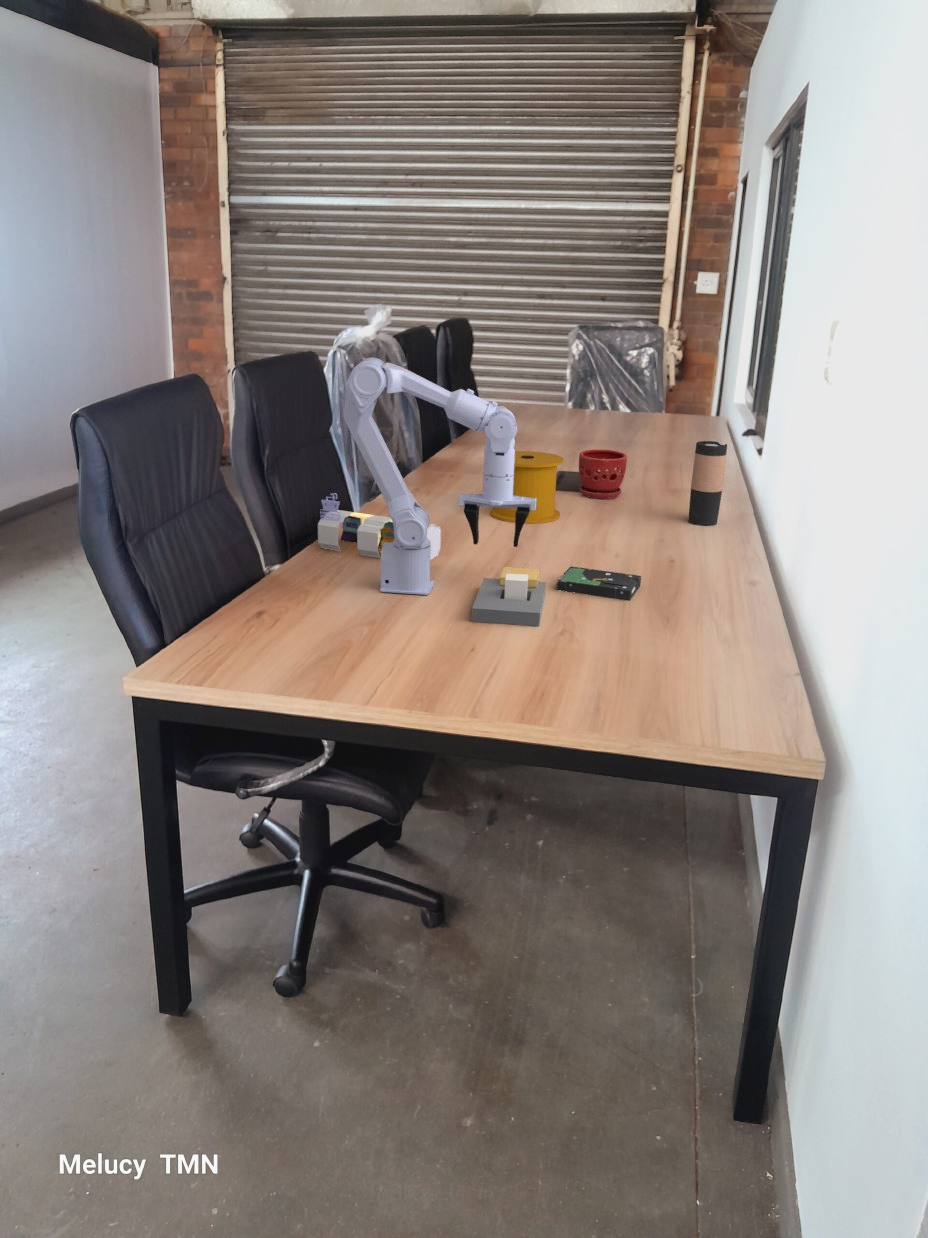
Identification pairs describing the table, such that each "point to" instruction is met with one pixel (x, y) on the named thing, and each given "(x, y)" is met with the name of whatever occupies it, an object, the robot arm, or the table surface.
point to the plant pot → (601, 473)
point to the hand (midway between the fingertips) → (495, 544)
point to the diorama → (363, 530)
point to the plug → (516, 586)
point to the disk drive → (599, 583)
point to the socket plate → (508, 605)
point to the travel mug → (707, 483)
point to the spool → (533, 486)
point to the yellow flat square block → (532, 573)
